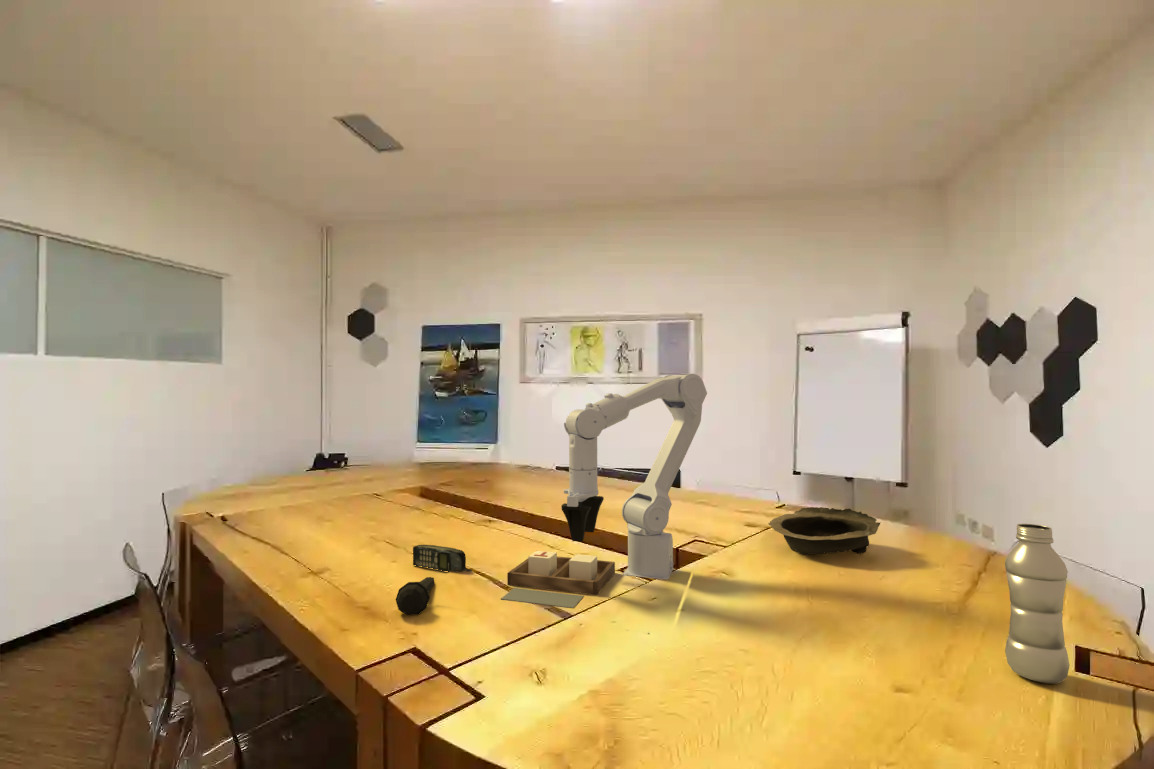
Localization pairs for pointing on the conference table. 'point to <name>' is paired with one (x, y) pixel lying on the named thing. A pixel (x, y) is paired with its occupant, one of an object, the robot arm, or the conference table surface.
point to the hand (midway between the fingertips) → (583, 536)
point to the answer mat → (543, 597)
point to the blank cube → (583, 567)
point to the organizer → (562, 578)
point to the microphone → (414, 596)
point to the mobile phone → (439, 558)
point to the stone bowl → (826, 530)
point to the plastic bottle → (1036, 607)
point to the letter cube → (542, 563)
